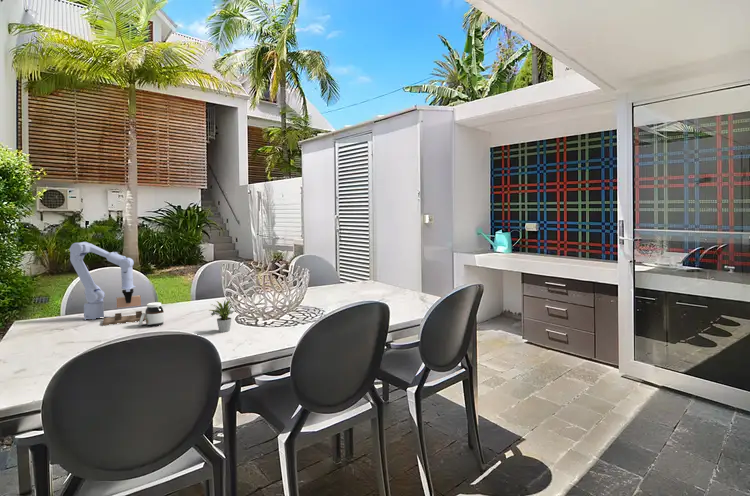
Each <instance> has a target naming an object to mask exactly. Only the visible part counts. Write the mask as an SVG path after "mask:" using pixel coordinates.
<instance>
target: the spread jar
mask: <svg viewBox="0 0 750 496" xmlns="http://www.w3.org/2000/svg"><path fill="white" fill-rule="evenodd" d="M144 312H145V313H144ZM144 312H142V315H141V318H140V321H139V322H138V325H137V326H139V327H141V326H142V324H143V322H144V321H143V320H144V317H145V318H146V321H145V323H146V326H147V327H149V326H155V327H159V325H160V326H162V325H163V324H164V323H165V314H164V308H163V307H162V302H160V301H159V302H158V301H157V302H155V301H154V302H149V303H147V304H146V308H145V311H144Z"/></svg>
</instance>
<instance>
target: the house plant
mask: <svg viewBox="0 0 750 496" xmlns="http://www.w3.org/2000/svg"><path fill="white" fill-rule="evenodd" d="M230 300H231V299H230ZM230 300H229V301H227V302H226V305H225V301H224V306H222V304H221V302H219V301H218V300H216V302H217V304H218V305H219V307H220V308H221V309H220V308H219V307H218V305H215V304H213V303H211V306H213V307H215V308H218V309H219V310H220V311H219V310H218V309H217V310H216V309H208V311H211V312H213V313H211V315H210V316H211V317H212V316H214V315H216V316H218V317H217V318H216V322H217V328H218V331H219V333H228V332H230V330H231V324H232V317H230V316H229V315H231V314H230V313H231V312H229V310H230V309H231V307H232V306H233V305H231V306H230V305H229V302H230ZM231 302H232V301H231ZM230 304H231V303H230ZM232 304H233V303H232ZM228 305H229V306H230V308H229V307H228ZM228 309H229V310H228ZM215 312H217V313H219V314H215ZM232 312H233V311H232ZM233 313H234V312H233Z"/></svg>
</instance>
